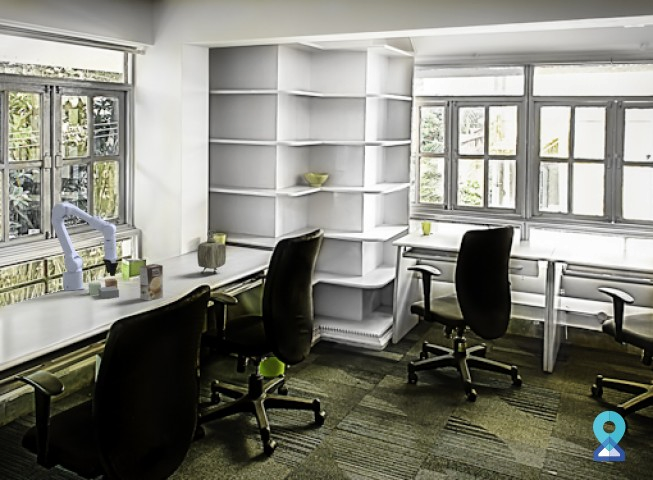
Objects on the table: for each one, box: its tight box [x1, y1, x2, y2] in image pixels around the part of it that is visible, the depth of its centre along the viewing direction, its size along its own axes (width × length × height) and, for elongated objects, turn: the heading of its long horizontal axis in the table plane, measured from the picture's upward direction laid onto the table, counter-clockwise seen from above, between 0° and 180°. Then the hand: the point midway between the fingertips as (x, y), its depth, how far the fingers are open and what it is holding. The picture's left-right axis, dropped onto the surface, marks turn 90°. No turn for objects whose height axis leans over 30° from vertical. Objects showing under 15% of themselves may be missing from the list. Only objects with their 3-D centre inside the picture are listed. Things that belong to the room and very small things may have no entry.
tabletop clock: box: [196, 229, 227, 275], centre depth 405 cm, size 14×9×25 cm, turn 145°
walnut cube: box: [104, 278, 119, 289], centre depth 366 cm, size 5×5×5 cm
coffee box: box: [139, 263, 164, 302], centre depth 350 cm, size 9×6×16 cm
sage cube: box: [88, 282, 102, 296], centre depth 357 cm, size 5×5×5 cm
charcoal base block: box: [98, 286, 120, 300], centre depth 353 cm, size 8×8×4 cm
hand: (111, 274), depth 365 cm, fingers open, 7 cm apart
